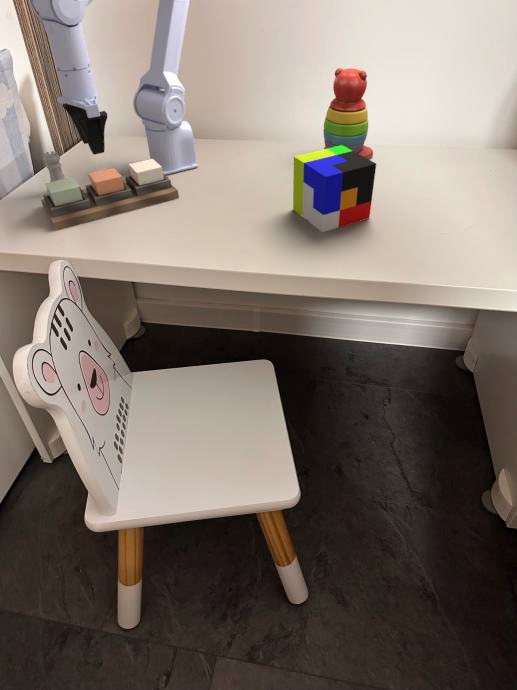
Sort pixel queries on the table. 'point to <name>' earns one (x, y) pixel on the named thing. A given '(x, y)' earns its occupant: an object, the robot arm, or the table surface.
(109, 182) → the terracotta button
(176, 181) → the table surface
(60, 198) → the sage button
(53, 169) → the rook chess piece
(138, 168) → the cream button
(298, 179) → the puzzle toy
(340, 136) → the stacking bear
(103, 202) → the button board
